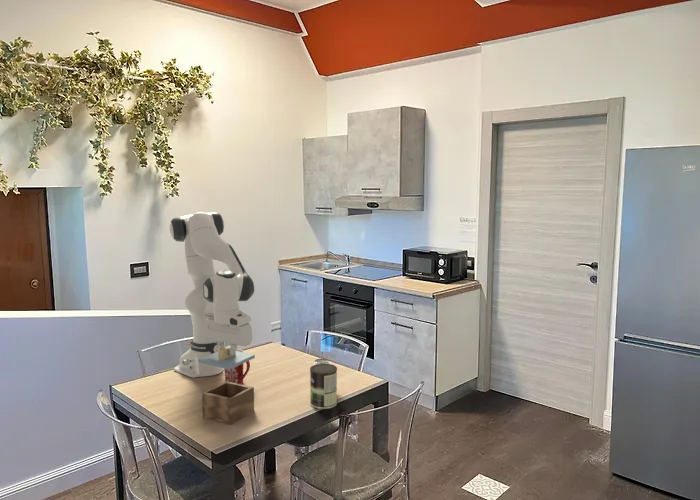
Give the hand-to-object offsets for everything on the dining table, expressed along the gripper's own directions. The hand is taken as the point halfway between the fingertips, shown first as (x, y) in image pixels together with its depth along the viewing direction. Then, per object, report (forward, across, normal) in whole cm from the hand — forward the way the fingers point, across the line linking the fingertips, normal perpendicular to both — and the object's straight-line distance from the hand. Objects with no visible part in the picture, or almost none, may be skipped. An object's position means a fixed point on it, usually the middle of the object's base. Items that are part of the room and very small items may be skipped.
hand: (227, 353), depth 189 cm
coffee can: (+22, +26, +24) cm, 42 cm away
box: (+23, 0, 0) cm, 23 cm away
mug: (+23, -16, +24) cm, 37 cm away
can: (+22, +18, +36) cm, 46 cm away
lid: (+3, 0, 0) cm, 3 cm away
